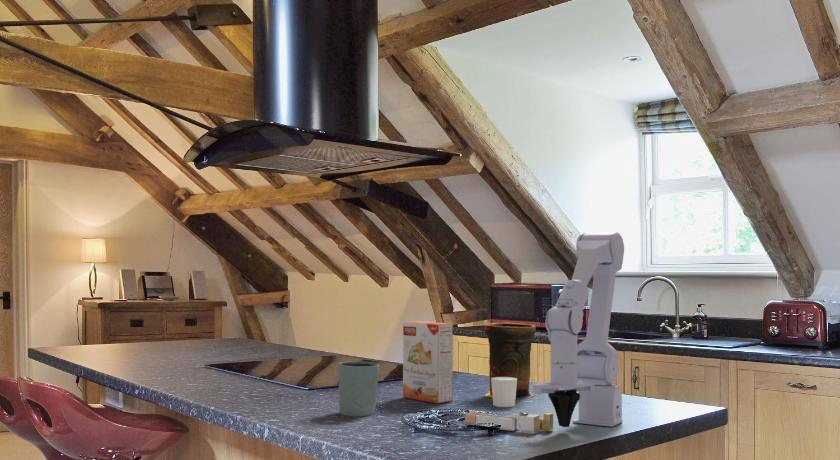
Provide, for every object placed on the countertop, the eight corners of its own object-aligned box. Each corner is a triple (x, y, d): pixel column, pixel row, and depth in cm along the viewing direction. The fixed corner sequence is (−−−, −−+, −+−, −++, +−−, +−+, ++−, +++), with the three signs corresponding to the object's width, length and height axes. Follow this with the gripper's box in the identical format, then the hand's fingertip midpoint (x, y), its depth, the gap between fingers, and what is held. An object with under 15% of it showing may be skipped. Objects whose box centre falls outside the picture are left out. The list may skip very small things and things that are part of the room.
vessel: (517, 389, 235) (518, 321, 236) (545, 398, 222) (545, 325, 223) (474, 392, 229) (475, 322, 229) (500, 401, 216) (501, 327, 217)
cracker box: (401, 397, 219) (402, 320, 220) (417, 395, 223) (418, 320, 224) (437, 404, 209) (437, 323, 210) (453, 401, 213) (453, 322, 214)
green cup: (340, 409, 200) (340, 360, 201) (380, 409, 200) (381, 361, 200) (334, 416, 190) (335, 365, 191) (377, 417, 190) (377, 366, 190)
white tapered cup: (500, 402, 213) (500, 375, 214) (522, 405, 209) (522, 377, 209) (485, 405, 208) (485, 378, 208) (507, 408, 204) (507, 380, 204)
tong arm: (519, 428, 176) (519, 417, 177) (516, 429, 175) (516, 418, 175) (472, 422, 182) (473, 412, 183) (470, 423, 181) (470, 412, 181)
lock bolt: (553, 430, 175) (553, 413, 175) (549, 431, 173) (549, 414, 173) (532, 427, 177) (532, 411, 177) (528, 428, 176) (528, 412, 176)
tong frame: (539, 431, 174) (539, 413, 174) (533, 434, 171) (533, 415, 171) (472, 423, 182) (472, 405, 182) (465, 426, 179) (465, 408, 180)
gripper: (581, 359, 180) (581, 420, 179) (525, 361, 174) (525, 425, 174) (600, 362, 174) (600, 426, 173) (542, 365, 168) (542, 431, 167)
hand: (564, 426), depth 173 cm, fingers closed
